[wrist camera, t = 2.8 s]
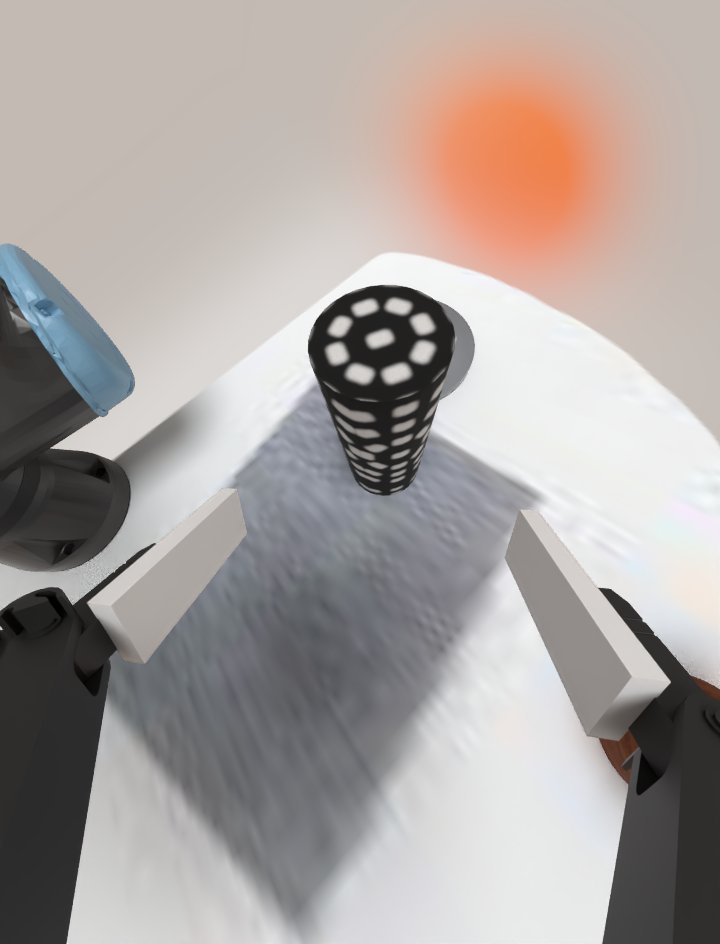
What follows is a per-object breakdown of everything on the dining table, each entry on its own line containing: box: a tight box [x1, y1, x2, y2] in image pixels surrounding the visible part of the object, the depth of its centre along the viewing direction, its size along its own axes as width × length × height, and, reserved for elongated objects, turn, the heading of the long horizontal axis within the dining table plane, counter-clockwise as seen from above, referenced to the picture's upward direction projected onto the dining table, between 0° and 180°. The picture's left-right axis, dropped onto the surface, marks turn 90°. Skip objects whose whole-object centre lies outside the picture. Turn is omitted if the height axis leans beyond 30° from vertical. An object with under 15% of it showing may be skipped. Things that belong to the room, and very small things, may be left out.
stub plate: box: [435, 300, 475, 400], centre depth 38 cm, size 18×18×3 cm
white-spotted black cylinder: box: [308, 285, 456, 496], centre depth 25 cm, size 8×8×20 cm
